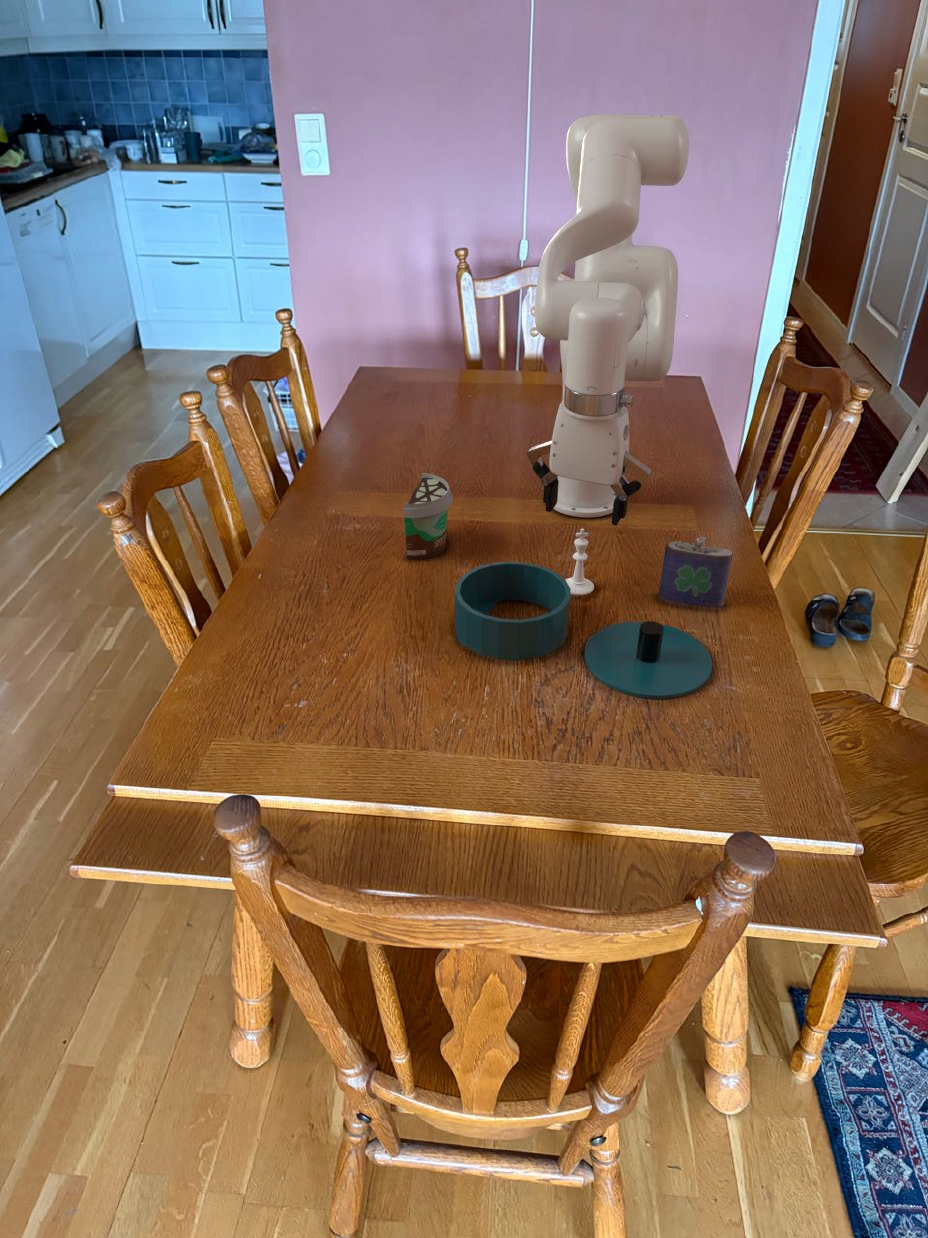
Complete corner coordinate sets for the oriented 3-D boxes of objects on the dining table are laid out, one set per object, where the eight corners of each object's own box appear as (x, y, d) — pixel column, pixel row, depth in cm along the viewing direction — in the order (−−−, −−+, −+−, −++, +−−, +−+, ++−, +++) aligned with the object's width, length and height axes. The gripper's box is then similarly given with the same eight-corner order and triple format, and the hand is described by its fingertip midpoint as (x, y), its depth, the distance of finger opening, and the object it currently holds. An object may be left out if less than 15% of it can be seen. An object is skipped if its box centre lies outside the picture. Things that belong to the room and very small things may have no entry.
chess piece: (558, 581, 137) (562, 521, 131) (590, 580, 137) (596, 520, 132) (563, 599, 133) (568, 538, 127) (597, 597, 133) (603, 536, 127)
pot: (481, 591, 134) (482, 552, 131) (582, 614, 129) (585, 575, 126) (436, 646, 123) (436, 606, 119) (545, 675, 117) (548, 633, 114)
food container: (443, 567, 140) (442, 509, 135) (404, 563, 141) (402, 505, 136) (460, 530, 150) (460, 474, 145) (423, 527, 151) (422, 471, 146)
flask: (723, 602, 132) (735, 537, 126) (722, 613, 130) (734, 547, 124) (658, 593, 134) (667, 528, 128) (656, 603, 132) (665, 538, 126)
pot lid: (604, 618, 129) (607, 583, 125) (722, 645, 123) (728, 609, 120) (567, 683, 116) (570, 646, 113) (696, 716, 110) (703, 679, 107)
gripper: (665, 398, 119) (650, 514, 129) (540, 379, 125) (535, 491, 135) (651, 419, 113) (636, 539, 123) (520, 398, 119) (516, 514, 129)
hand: (583, 514), depth 129 cm, fingers open, 9 cm apart
